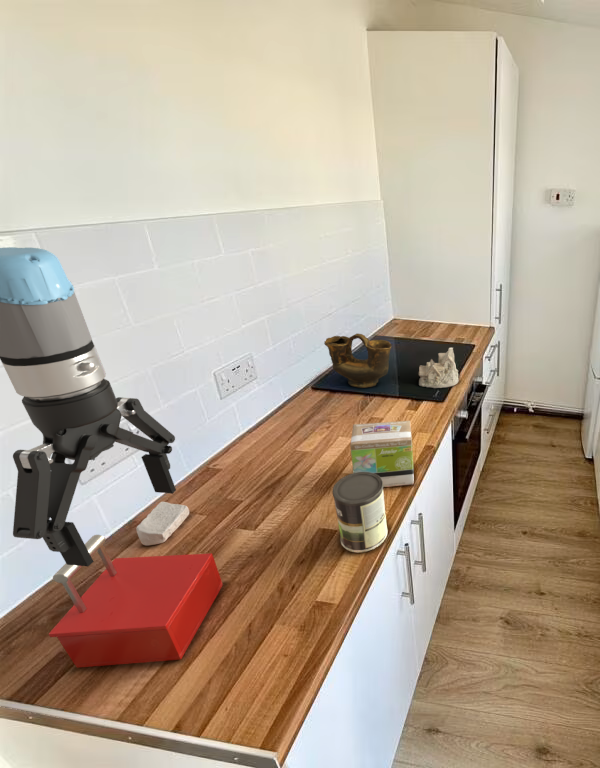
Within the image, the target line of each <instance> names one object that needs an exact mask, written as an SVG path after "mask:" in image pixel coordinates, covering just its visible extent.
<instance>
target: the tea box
mask: <svg viewBox="0 0 600 768" xmlns="http://www.w3.org/2000/svg"><path fill="white" fill-rule="evenodd" d="M411 423H412V422H411V420H398V421H397V420H396V421H384V422H368V423H354V424H352V431H351V438H350V445H349V446H350V455H351V464H352V473H357V472H370V473H374V474H377V475H378V476H380V477H381V479H382V480H383V488H386V487H387V488H388V487H389V488H390V487H397V486H411V485H414V482H415V481H414V479H415V477H414V473H415V472H414V453H413V451H414V449H413V435H412V426H411V425H412V424H411Z"/></svg>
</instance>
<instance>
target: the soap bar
mask: <svg viewBox="0 0 600 768" xmlns="http://www.w3.org/2000/svg"><path fill="white" fill-rule="evenodd" d="M189 515H190V508H189V507H188V506H187V505H185V504H179V503H170V502H167V501H161V502H159V503H158V504H157V505H156V506H155V507H154V508H153V509H152V510H151V512H149V513H148V514H147V515H146V517H145V518H144V519H142V521H141V522H140V523H139V524H138V525H137V526H136V528H135V530H136V534H137V536H138V539H139V541H140V543H141V544H142V545H143V546H154V545H158V544H159V545H160V544H162V543H165V542H166V541H168V538H170V537H171V536H172V535H173V533H174V532H175V531H176V530H177V529H178V528H179V527H180V526H181V525H182V524H183V522H184V521H185V520H186V519H187V518H188V517H189Z"/></svg>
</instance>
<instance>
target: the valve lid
mask: <svg viewBox="0 0 600 768" xmlns="http://www.w3.org/2000/svg"><path fill="white" fill-rule="evenodd" d="M105 543H106V537H105V536H104V535H101V534H94V535H92V536H91V537H90V538H89V539H88V540H87V541H86V542H84V544H85V546H86V548H87V550H88V552H89V554H90V555H91V557H93V555H94V554H95V553H96V552H97V553H98V556H99V558H100V559H101V561H102V563H103V565H104V568H105V569H104V570H103V571H102V573H101V574H100V575H98V577H97V578H96V579H95V580H94V582H93V583H92V584H91V585H90V586H89V587H88V588H87V589H86V591H85V592H84V593H83V594H82V595H81V596H80V594H79V593H78V591H77V589H76V588H75V585H74V584H73V582H72V580H71V579H72V578H73V577H74V575H75V574H77V572H78V571H79V570H80V569H81V568H82V567H83V566H76V565H67V564H66V563H64V564H63V566H61V567H60V568H59V569H58V570H57V571H56V572H55V573H54V574H53V576H52V580H53V581H54V582H56V583H59V584H62V586H63V588H64V589H65V591H66V593H67V595H68V596H69V598H70V599H71V601H72V603H73V606H72V607H71V608H70V609H69V610H68V611H67V613H65V615H64V616H63V617H62V618H61V619H60V620H59V622H58V623H57V624H55V626H54V627H53V628H52V629H51V630H50V632H49V633H48V636H49V637H50V638H57V637H63V636H77V635H91V634H105V633H119V632H133V631H147V630H161V629H167V628H168V627H169V625H170V623H171V622H172V620H173V619H174V617H175V615H176V614H177V612H178V611H179V609H180V608H181V606H182V604H183V603H184V601H185V600H186V598H187V596H188V595H189V593H190V592H191V590H192V589H193V587H194V585H195V584H196V582H197V581H198V579H199V577H200V576H201V574H202V573H203V571H204V570H205V568H206V566H207V565H208V563H209V562H210V560H211V558H212V557H213V558H214V556H213V553H212V552H211V553H193V554H190V553H189V554H171V555H154V556H134V557H133V556H132V557H115V558H114V559H113V560H111V558H110V556H109V554H108V552H107V550H106V548H105V546H104V544H105Z"/></svg>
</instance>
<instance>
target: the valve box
mask: <svg viewBox="0 0 600 768" xmlns="http://www.w3.org/2000/svg"><path fill="white" fill-rule="evenodd" d="M223 586H224V584H223V580H222V577H221V575H220V571H219V569H218V566H217V563H216V560H215V557H214V556H213V557H212V558H211V560H210V562H209V563H208V565H207V566H206V568H205V570H204V571H203V573H202V574H201V576H200V577H199V579H198V581H197V582H196V584H195V585H194V587H193V589H192V590H191V592H190V593H189V595H188V596H187V598H186V600H185V601H184V603H183V604H182V606H181V608H180V609H179V611H178V612H177V614H176V615H175V617H174V619H173V620H172V622H171V623H170V625H169V627H168V628H167V629H161V630H147V631H133V632H119V633H105V634H91V635H77V636H63V637H56V638H57V640H58V641H59V643H60V644H61V646H62V648H63V649H64V651H65V652H66V654H67V656H68V658H69V659H70V660H71V662H72V663H73V665H74V666H75V668H76V669H78V668H91V667H101V666H102V667H104V666H105V667H106V666H116V665H129V664H141V663H142V664H143V663H154V662H166V661H179V660H182V659H183V657H184V655H185V653H186V652H187V650H188V648H189V646H190V644H191V643H192V641H193V639H194V638H195V635H196V634H197V632H198V630H199V629H200V627H201V625H202V623H203V621H204V619H206V616H207V614H208V613H209V611H210V609H211V607H212V606H213V603H214V601H215V600H216V598H217V596H218V595H219V593H220V591H221V589H222V587H223Z"/></svg>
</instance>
